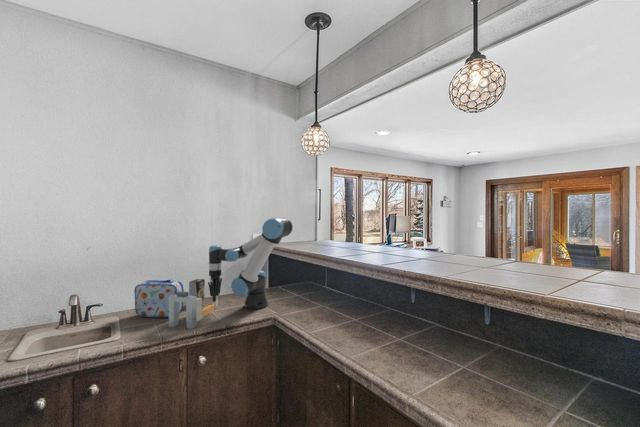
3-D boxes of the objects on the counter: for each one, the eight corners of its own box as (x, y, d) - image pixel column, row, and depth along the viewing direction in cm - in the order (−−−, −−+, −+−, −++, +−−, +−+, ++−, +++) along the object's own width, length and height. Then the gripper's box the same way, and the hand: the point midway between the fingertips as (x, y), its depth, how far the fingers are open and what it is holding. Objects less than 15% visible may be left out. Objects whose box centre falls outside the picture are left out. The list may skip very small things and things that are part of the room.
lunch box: (187, 312, 183) (187, 277, 183) (179, 318, 173) (179, 281, 173) (142, 312, 184) (142, 277, 184) (132, 318, 173) (132, 280, 173)
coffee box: (197, 306, 195) (197, 282, 195) (188, 306, 196) (188, 281, 196) (205, 302, 204) (205, 279, 204) (196, 302, 205) (196, 278, 205)
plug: (207, 309, 190) (207, 290, 190) (216, 310, 188) (216, 291, 188) (186, 321, 169) (186, 300, 169) (195, 322, 168) (195, 300, 168)
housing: (196, 326, 162) (196, 292, 162) (191, 328, 158) (191, 294, 158) (173, 324, 165) (173, 290, 165) (168, 326, 161) (168, 292, 161)
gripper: (215, 267, 200) (215, 302, 200) (204, 271, 187) (204, 308, 187) (225, 267, 198) (225, 303, 198) (214, 271, 186) (214, 309, 186)
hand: (215, 305), depth 193 cm, fingers closed
